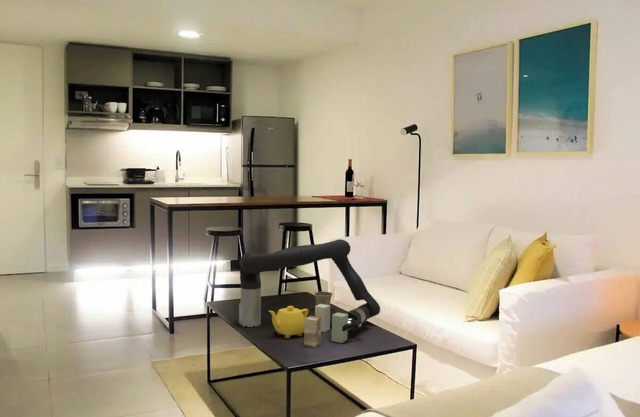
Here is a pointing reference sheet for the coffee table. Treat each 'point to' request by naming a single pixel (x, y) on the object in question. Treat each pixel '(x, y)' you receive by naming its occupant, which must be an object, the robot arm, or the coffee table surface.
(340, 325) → the sage pillar
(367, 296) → the robot arm
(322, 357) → the coffee table surface
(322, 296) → the flower pot
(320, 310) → the offwhite pillar
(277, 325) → the teapot
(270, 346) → the coffee table surface
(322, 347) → the coffee table surface
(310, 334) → the birch pillar
